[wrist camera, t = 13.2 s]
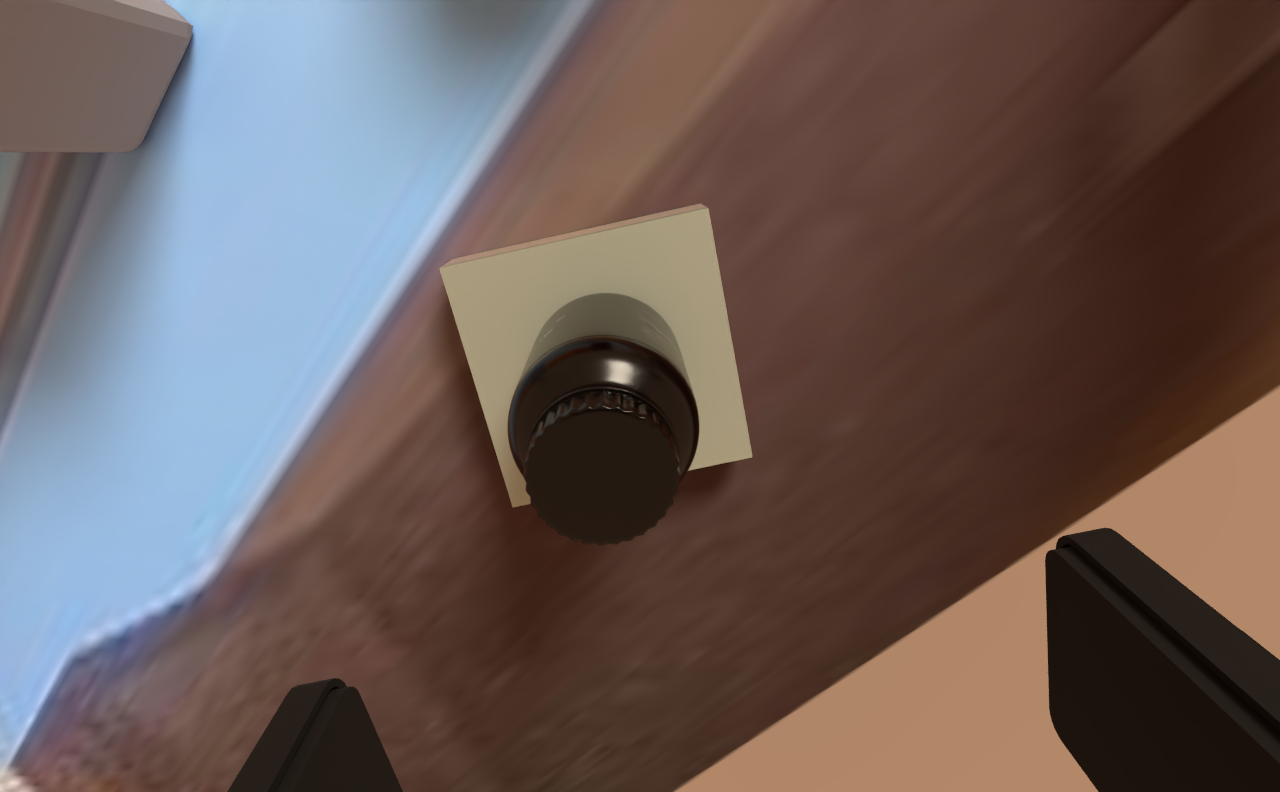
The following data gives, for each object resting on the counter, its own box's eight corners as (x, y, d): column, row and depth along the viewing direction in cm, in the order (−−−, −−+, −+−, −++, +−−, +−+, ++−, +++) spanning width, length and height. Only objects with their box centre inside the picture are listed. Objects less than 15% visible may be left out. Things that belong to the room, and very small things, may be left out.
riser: (700, 203, 34) (708, 208, 31) (741, 434, 37) (752, 457, 35) (454, 258, 34) (439, 268, 31) (520, 481, 38) (512, 507, 35)
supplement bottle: (519, 300, 32) (468, 382, 20) (671, 280, 32) (704, 351, 20) (545, 442, 34) (512, 587, 23) (687, 423, 34) (725, 559, 22)
